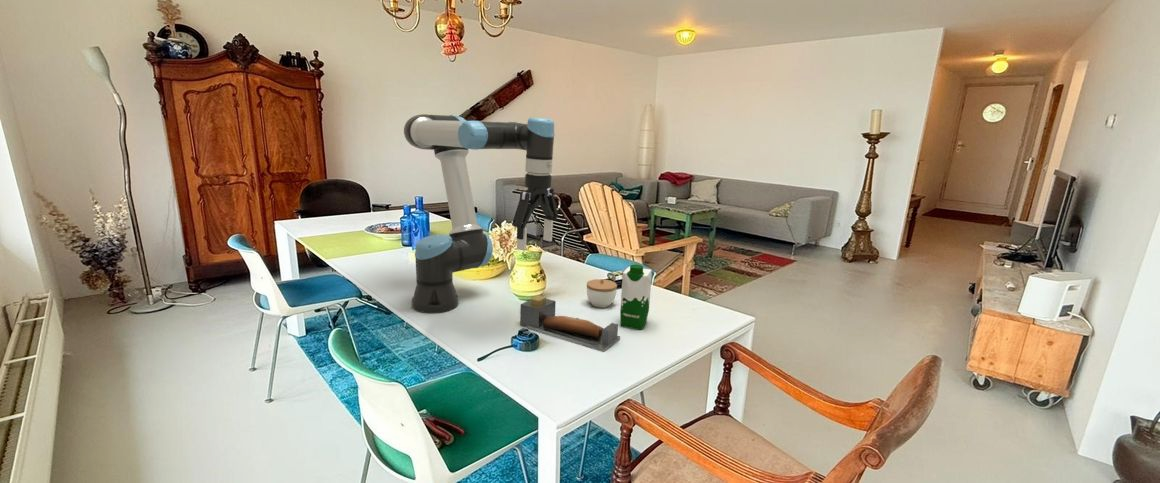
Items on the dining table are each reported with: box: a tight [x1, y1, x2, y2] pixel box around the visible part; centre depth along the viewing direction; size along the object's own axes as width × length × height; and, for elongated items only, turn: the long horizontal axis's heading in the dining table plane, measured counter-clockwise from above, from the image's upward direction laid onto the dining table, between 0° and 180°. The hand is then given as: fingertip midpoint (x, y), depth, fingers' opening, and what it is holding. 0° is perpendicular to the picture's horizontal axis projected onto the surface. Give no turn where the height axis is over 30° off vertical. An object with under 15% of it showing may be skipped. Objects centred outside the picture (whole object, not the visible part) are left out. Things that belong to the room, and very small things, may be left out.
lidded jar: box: [586, 278, 618, 309], centre depth 169 cm, size 11×11×9 cm
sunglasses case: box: [543, 315, 605, 339], centre depth 144 cm, size 18×7×7 cm
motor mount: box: [519, 294, 621, 352], centre depth 145 cm, size 31×10×9 cm, turn 59°
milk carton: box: [619, 264, 652, 331], centre depth 152 cm, size 9×9×20 cm
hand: (534, 245), depth 143 cm, fingers open, 13 cm apart
